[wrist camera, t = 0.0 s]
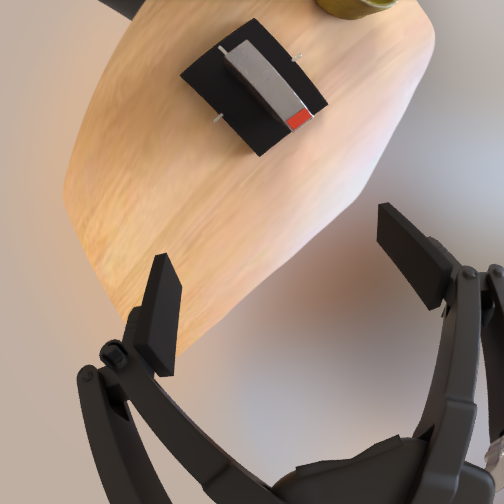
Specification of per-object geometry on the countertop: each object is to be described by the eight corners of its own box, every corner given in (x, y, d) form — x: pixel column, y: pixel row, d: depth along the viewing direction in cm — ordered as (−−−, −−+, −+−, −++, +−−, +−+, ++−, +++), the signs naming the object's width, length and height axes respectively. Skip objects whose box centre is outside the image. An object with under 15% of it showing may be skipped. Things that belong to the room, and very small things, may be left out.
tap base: (175, 82, 27) (172, 81, 25) (259, 17, 24) (262, 12, 21) (250, 157, 34) (252, 163, 32) (328, 98, 30) (335, 99, 28)
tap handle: (222, 65, 25) (224, 55, 17) (239, 52, 24) (247, 38, 17) (274, 120, 29) (293, 133, 22) (289, 108, 29) (314, 117, 21)
